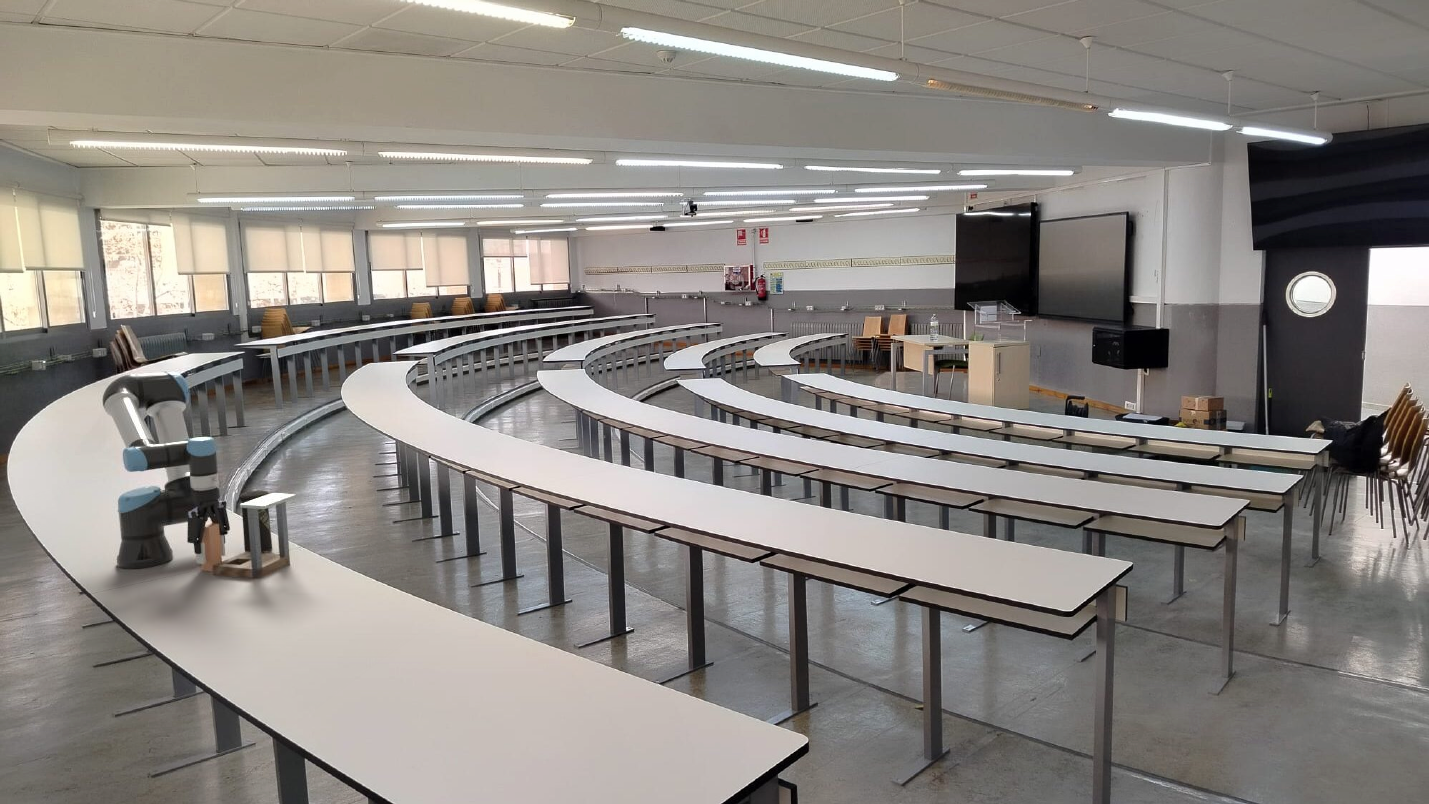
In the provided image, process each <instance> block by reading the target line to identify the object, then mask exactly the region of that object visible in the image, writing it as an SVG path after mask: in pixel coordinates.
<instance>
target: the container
mask: <svg viewBox="0 0 1429 804" xmlns="http://www.w3.org/2000/svg"><path fill="white" fill-rule="evenodd" d="M268 494H270V492H269V491H267V490H262V489H261V490H257V489H256V490H250V491H249V490H248V491H245V492H241V494H240V495H238V499H239V501H241V502H240V504H242V503H245V502H248V501H251V500H254V499H256V498H259V497H262V496H265V495H268ZM269 511H270V510H269V508H267V509H258V517H259V530H260V543H261V553H267V552H270V551H271V550H273V541H272V532H271V531H272V530H271V521H270V512H269ZM241 514H242V515H241V517H242V529H243V546H244V552H251V551H250V538H249V525H248V513H247V508H241Z"/></svg>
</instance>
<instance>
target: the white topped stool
mask: <svg viewBox="0 0 1429 804" xmlns="http://www.w3.org/2000/svg"><path fill="white" fill-rule="evenodd" d="M296 498H297V494H294V493H293V494H292V493H282V492H281V493H278V492H272V493H271V492H270V493H269V494H268V495H265V496H262V497H259V498H256V499H254V500H251V501H248V502H245V503H242V504H241V503H240V504H239V508H241V509H242V508H247V513H248V525H249V538H250V551H251V563H252V569H253V570H254V571H255V569H256V571H255V572H256V573H254V575H255V576H256V575H257V572H258V571H260V569H261V570H262V556H261V543H260V530H259V517H258V509H267V508H268V509H269V508H271V507H272V508H273V507H274V506H275V512H276V513H275V514H276V527H277V528H276V529H277V539H278V540H277V541H278V553H279V555H280V557H286V556H290V543H289V542H290V541H289V531H288V516H287V502H288V501H291V500H293V499H296ZM288 559H289V558H288ZM285 560H287V559H285ZM286 562H287V561H286ZM287 563H288V562H287ZM287 566H289V564H288V565H287V564H286V566H285V567H287ZM258 569H259V570H258ZM253 570H252V571H253ZM258 573H260V572H258ZM252 574H253V573H252ZM261 574H262V573H261ZM252 576H253V575H252ZM257 576H258V577H259V575H257ZM260 576H261V575H260ZM258 577H256V578H255V577H253V578H254V579H253V580H259V579H261V578H258ZM257 578H258V579H257Z"/></svg>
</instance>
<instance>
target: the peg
mask: <svg viewBox="0 0 1429 804" xmlns="http://www.w3.org/2000/svg"><path fill="white" fill-rule="evenodd" d="M202 543H204V545H205V556H206V563H205V564H201V563H200V566H201V571H208V572H213V565H215V564H218V563H220V562H222V561H223V558H222V557H223V556H221V544H220V533H219V524H214V523H212V522H206V524H205V529H204V534H203V539H202Z"/></svg>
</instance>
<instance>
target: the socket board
mask: <svg viewBox="0 0 1429 804" xmlns="http://www.w3.org/2000/svg"><path fill="white" fill-rule="evenodd" d="M261 556H262V570H261V569H260V571H258V572H260V573H258V572H257V575H259V577H258V576H257V575H256V576H255V575H254V573H256V572H255V571H256V569H255V571H254V570H253V569H252V563H251V552H245V551H244V552H242V553H240V554H237V555H235V556H232V557H230V558H228V559H225V560H222V562H220V563H218V564H215V565H213V571H212V574H213V576H221V577H222V576H223V577H232V578H241V579H242V578H243V579H253V580H255V579H254V578H253V577H255V578H256V577H258V578H260V579H262V578H264V577H266V576H268V575H271V574H273V573H275V572H277V571H278V570H281V569H283V568H285V567H287V566H289V565H291V557H290V556H291V555H289V556H286V557H280V555H279V554H278V553H267V552H263V553H261ZM288 558H289V559H288ZM285 559H287V560H285ZM286 561H287V562H288V563H287V562H286ZM286 564H287V566H286ZM288 564H289V565H288ZM252 570H253V571H252ZM258 570H259V569H258ZM252 573H253V574H252ZM261 573H262V574H261ZM252 575H253V576H252ZM260 575H261V576H260ZM258 578H257V579H256V580H259V579H258Z"/></svg>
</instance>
